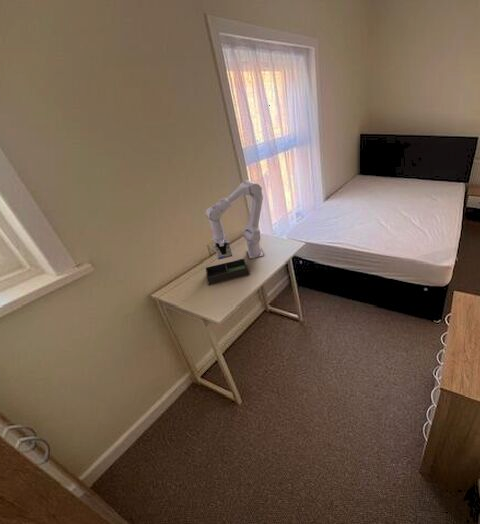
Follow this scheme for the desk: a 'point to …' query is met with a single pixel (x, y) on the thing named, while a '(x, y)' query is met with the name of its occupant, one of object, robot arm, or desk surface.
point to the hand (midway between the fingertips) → (223, 251)
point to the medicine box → (219, 254)
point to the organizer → (226, 271)
